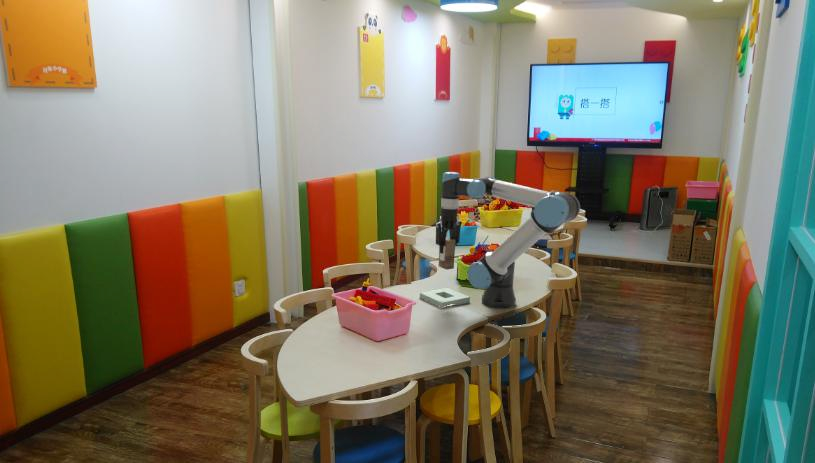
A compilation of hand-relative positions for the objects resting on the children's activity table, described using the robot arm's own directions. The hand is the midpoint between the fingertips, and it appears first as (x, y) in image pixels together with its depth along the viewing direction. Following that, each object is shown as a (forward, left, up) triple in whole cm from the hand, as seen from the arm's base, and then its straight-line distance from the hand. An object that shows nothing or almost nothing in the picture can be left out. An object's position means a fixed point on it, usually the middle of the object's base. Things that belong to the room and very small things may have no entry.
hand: (446, 259), depth 256 cm
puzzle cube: (+23, -33, -19) cm, 44 cm away
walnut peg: (0, 0, -4) cm, 4 cm away
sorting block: (0, 0, -19) cm, 19 cm away
